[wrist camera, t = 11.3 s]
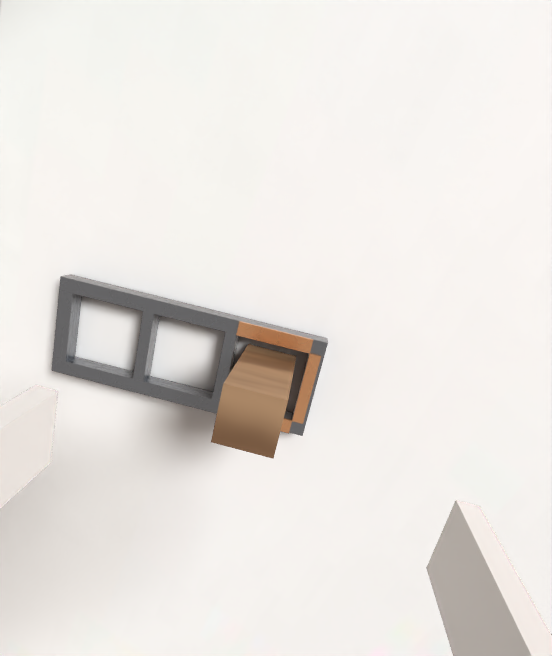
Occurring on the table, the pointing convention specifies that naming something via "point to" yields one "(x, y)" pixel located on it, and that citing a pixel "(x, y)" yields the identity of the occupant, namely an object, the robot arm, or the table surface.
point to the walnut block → (254, 401)
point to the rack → (140, 378)
